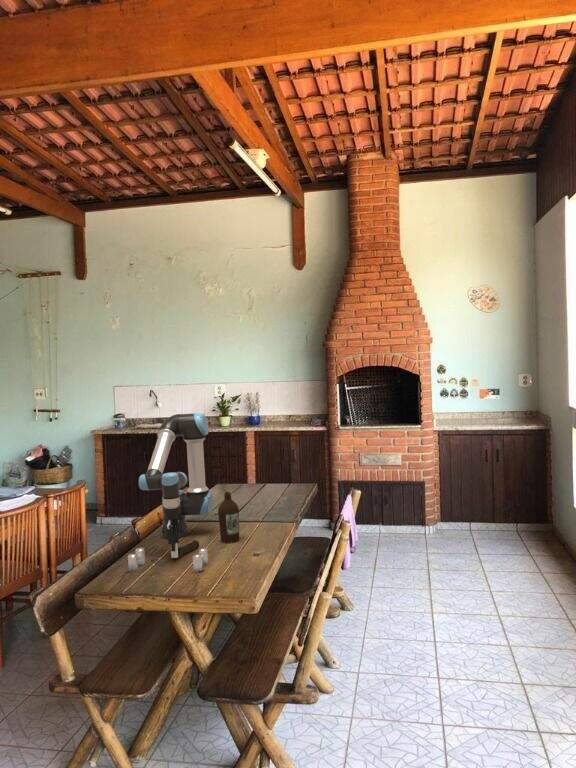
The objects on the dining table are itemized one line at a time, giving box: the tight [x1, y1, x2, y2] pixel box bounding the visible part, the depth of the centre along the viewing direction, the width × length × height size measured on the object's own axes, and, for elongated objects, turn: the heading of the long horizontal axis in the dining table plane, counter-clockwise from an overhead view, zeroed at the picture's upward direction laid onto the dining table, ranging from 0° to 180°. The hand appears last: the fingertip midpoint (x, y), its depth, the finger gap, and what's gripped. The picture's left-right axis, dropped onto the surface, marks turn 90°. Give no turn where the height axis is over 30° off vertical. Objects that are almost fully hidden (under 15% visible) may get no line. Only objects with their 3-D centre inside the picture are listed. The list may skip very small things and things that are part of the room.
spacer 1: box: [127, 553, 139, 573], centre depth 255 cm, size 4×4×7 cm
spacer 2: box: [134, 547, 146, 567], centre depth 263 cm, size 4×4×7 cm
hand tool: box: [171, 539, 200, 560], centre depth 274 cm, size 19×4×5 cm, turn 152°
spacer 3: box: [192, 553, 203, 573], centre depth 250 cm, size 4×4×7 cm
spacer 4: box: [197, 547, 209, 566], centre depth 258 cm, size 4×4×7 cm
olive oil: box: [217, 490, 240, 544], centre depth 292 cm, size 11×11×25 cm
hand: (174, 557), depth 265 cm, fingers closed
